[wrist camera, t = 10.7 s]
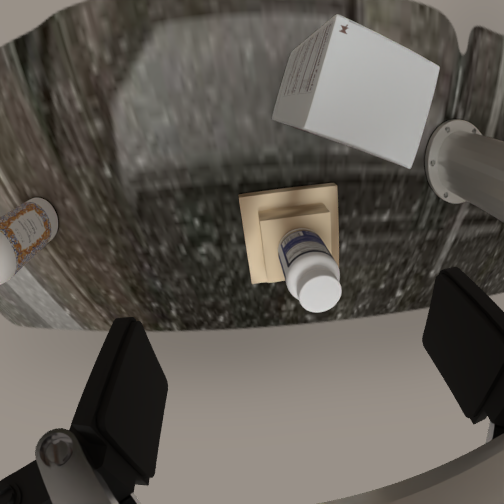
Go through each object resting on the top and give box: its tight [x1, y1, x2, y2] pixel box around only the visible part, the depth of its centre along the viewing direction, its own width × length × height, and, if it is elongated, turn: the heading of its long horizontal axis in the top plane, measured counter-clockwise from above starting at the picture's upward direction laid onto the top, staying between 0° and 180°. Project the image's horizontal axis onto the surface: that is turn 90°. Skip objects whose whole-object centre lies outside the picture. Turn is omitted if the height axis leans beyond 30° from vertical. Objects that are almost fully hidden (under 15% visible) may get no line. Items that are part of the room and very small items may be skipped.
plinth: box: [239, 183, 339, 284], centre depth 38 cm, size 12×12×5 cm
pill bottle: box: [278, 228, 341, 312], centre depth 32 cm, size 5×5×10 cm
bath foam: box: [0, 198, 58, 285], centre depth 29 cm, size 7×7×20 cm
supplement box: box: [272, 14, 440, 169], centre depth 26 cm, size 10×9×17 cm
